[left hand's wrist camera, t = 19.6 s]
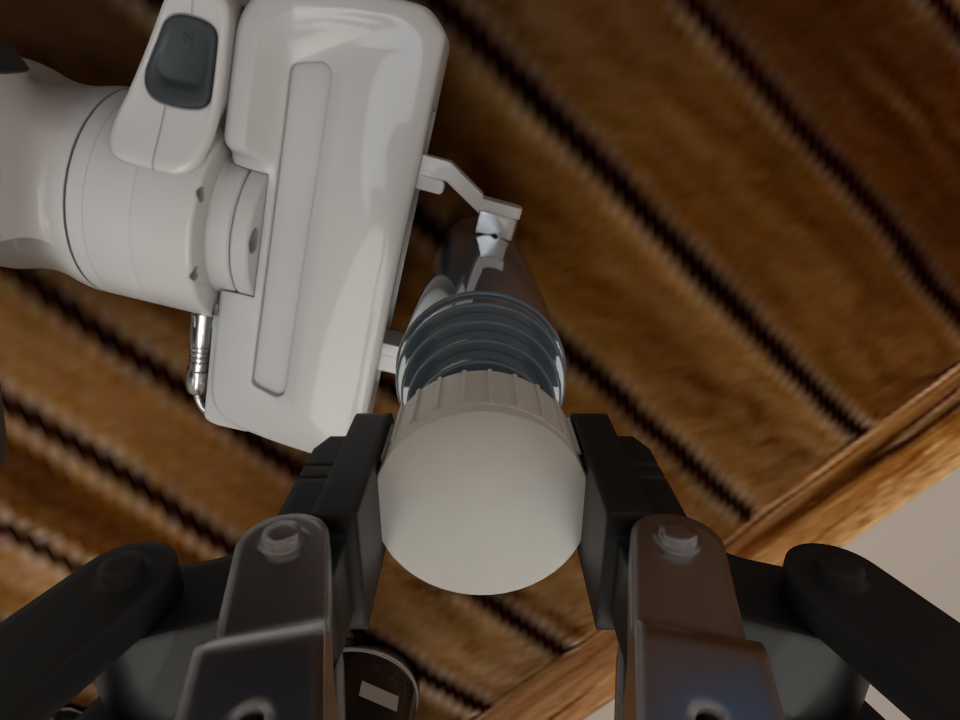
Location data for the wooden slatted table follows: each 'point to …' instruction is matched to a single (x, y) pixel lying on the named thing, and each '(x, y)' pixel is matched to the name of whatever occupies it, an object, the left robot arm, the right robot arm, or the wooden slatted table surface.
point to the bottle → (480, 317)
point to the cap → (481, 484)
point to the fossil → (66, 714)
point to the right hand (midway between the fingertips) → (499, 288)
